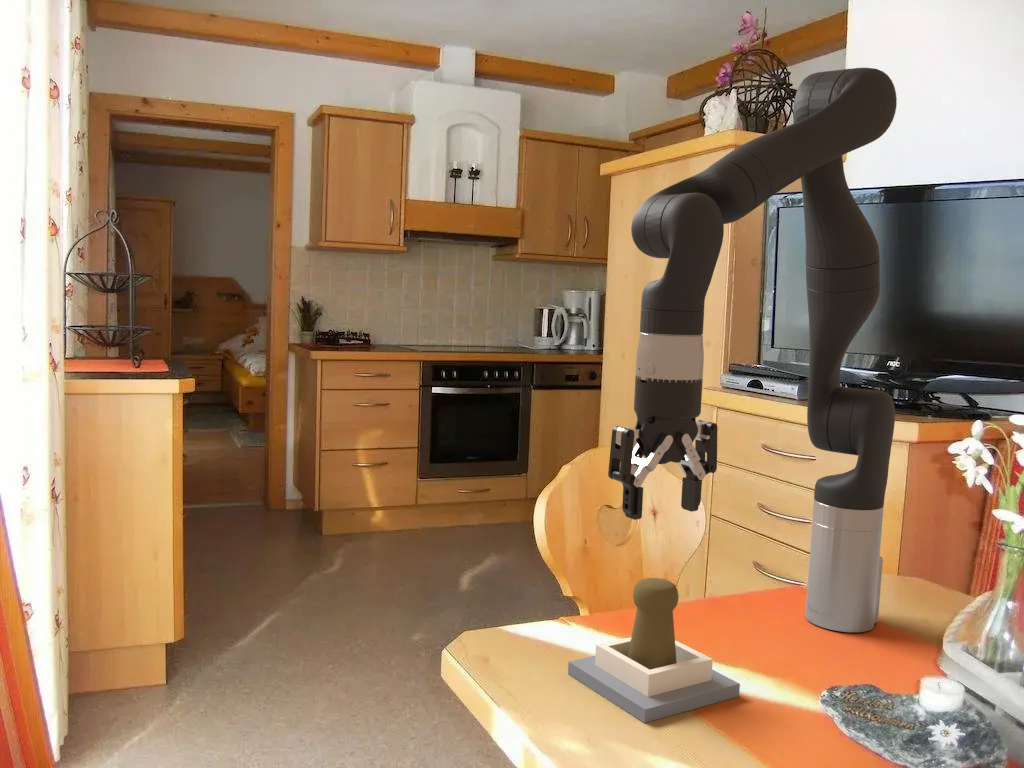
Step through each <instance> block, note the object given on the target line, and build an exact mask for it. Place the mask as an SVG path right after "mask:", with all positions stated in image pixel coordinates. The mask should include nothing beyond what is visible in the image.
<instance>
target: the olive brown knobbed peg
mask: <svg viewBox="0 0 1024 768" xmlns="http://www.w3.org/2000/svg"><path fill="white" fill-rule="evenodd" d="M633 587H634V588H633V590H632V598H633V603H634V605H635V607H636V611H635V618H634V622H633V627H632V628H633V629H632V631H631V642H630V647H629V652H628V658H630V659H632V660H633V661H635V662H637V663H639V664H641V665H642V666H644V667H646V668H648V669H649V670H651V669H655V668H659V667H663V666H667V665H672V664H676V663H677V661H676V648H675V640H676V638H675V636H676V635H675V625H674V624H675V622H674V610H675V609H676V607H677V605H678V603H679V597H680V596H679V590H678V588H677V586H676V584H675V583H673V582H672V581H670V580H667V579H665V578H660V577H644V578H642V579H639V580H638V581H637V582H636V584H635V585H634V586H633Z"/></svg>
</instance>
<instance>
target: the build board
mask: <svg viewBox="0 0 1024 768" xmlns="http://www.w3.org/2000/svg"><path fill="white" fill-rule="evenodd" d="M631 637H632V636H631ZM631 637H626V638H621V639H616V640H611V641H606V642H601V643H598V644H595V655H593V656H592V655H591V656H588V657H584V658H579V659H574V660H570V661H568V662H567V675H569V676H571V677H572V678H573V679H576V680H577V681H579V682H580V683H581V684H582V685H584V686H586V687H587V688H590V690H592V691H594V692H596V693H597V694H598V695H600V696H601V697H603V698H605V699H606V700H608V701H609V702H611V703H612V704H614V705H615V706H617V707H618V708H620V709H621V710H623V711H625V712H627V713H628V714H629V715H631V716H633V717H634V718H636V719H637V720H639V721H641V723H644V724H645V723H646V724H647V723H650V722H653V721H657V720H660V719H664V718H667V717H671V716H674V715H678V714H682V713H685V712H688V711H692V710H695V709H699V708H703V707H706V706H710V705H714V704H716V703H721V702H725V701H728V700H731V699H735V698H738V697H740V688H741V683H739V682H737V681H736V680H734V679H732V678H729V677H727V676H726V675H724V674H722V673H720V672H718V671H716V670H714V669H713V662H714V660H713V658H711V657H709V656H707V655H705V654H704V653H702V652H700V651H697V650H696V649H694V648H692V647H690V646H688V645H686V644H684V643H682V642H679V641H678V640H676V639H675V648H676V661H677V663H676V664H672V665H667V666H663V667H659V668H655V669H651V670H649V669H648V668H646V667H644V666H642V665H641V664H639V663H637V662H635V661H633V660H632V659H630V658H628V652H629V647H630V642H631Z"/></svg>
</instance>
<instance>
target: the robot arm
mask: <svg viewBox="0 0 1024 768" xmlns="http://www.w3.org/2000/svg"><path fill="white" fill-rule="evenodd" d="M897 99H898V98H897V92H896V88H895V84H894V82H893V80H892V79H891V77H890V76H889V75H888V74H887V73H886V72H885V71H883V70H880V69H878V68H872V67H856V68H855V67H854V68H845V69H834V70H826V71H820V72H819V71H818V72H814V73H811V74H809V75H807V76H806V77H804V79H802V81H801V83H800V84H799V85H798V87H797V90H796V93H795V97H794V101H793V112H792V113H793V115H792V117H793V118H792V119H793V123H792V124H789V125H786V126H785V127H782V128H778V129H776V130H773V131H771V132H767V133H766V134H763V135H761V136H758V137H756V138H753V139H752V140H749V141H747V142H745V143H743V144H741V145H740V146H738V147H736V148H735V149H733V150H732V151H729V153H727V154H725V155H724V156H723V157H721V158H719V160H717V161H715V162H714V163H712V164H711V165H709V167H707V168H706V169H704V170H703V171H701V172H698V173H696V174H695V175H692V176H690V177H687V178H685V179H683V180H681V181H678V182H676V183H674V184H672V185H670V186H667V187H665V188H664V189H660V190H659V191H658V192H655V193H654V194H653V195H651V196H649V197H648V198H646V199H645V200H644V202H642V203H641V204H640V205H639V207H638V208H637V210H636V211H635V213H634V216H633V217H632V221H631V227H630V228H631V229H630V230H631V231H630V232H631V238H632V241H633V243H634V245H635V246H636V248H637V249H638V250H639V251H640V252H641V253H642V254H644V255H646V256H648V257H651V258H655V259H667V264H666V267H665V270H664V273H663V275H662V277H660V278H659V279H656V280H653V281H650V282H648V283H647V284H645V286H644V288H643V290H642V294H641V295H642V296H641V305H640V322H639V324H640V325H639V338H638V344H637V348H636V355H635V356H636V357H635V358H636V359H635V376H634V377H635V380H634V398H633V399H634V400H633V401H634V402H633V411H634V412H635V415H636V418H637V419H636V422H635V423H636V424H635V426H634V427H624V426H618V425H615V426H614V427H613V428H612V431H611V438H610V439H611V441H610V451H609V453H610V454H609V463H608V473H607V475H608V478H609V479H611V480H614V481H616V482H620V483H621V484H622V504H621V505H622V512H623V513H624V515H625V517H626V518H629V519H631V520H636V521H637V520H641V519H642V517H643V503H644V502H643V501H644V487H643V486H642V485H643V483H644V482H645V480H646V479H647V477H648V475H649V473H652V472H653V471H654V470H655V469H656V467H658V465H665V464H668V463H670V462H671V463H676V464H678V466H679V468H680V469H681V471H682V473H683V475H684V476H683V477H682V480H681V483H682V485H681V500H680V501H681V502H680V504H681V505H680V506H681V509H683V510H686V511H689V512H697V511H698V510H699V506H700V505H701V500H702V487H703V486H702V485H703V482H702V481H703V480H704V479H705V478H706V476H707V475H708V474H710V473H711V474H714V473H716V471H717V470H718V424H717V423H716V422H711V421H707V420H702V419H698V420H696V418H698V417H700V415H701V413H702V397H703V383H704V382H703V380H704V377H703V376H704V362H705V352H704V351H705V348H704V335H703V334H704V323H705V322H704V321H705V302H706V301H705V300H706V296H707V293H708V290H709V287H710V285H711V282H712V279H713V276H714V272H715V270H716V269H715V268H716V265H717V262H718V259H719V256H720V253H721V249H722V245H723V241H724V234H725V233H724V230H725V229H724V227H725V225H726V224H727V225H728V224H731V223H732V224H733V223H735V222H736V221H739V220H741V219H742V218H744V217H745V216H747V215H749V214H750V213H752V212H753V211H754V210H756V209H757V208H758V207H760V206H761V205H762V204H764V203H765V202H766V201H768V200H769V199H771V198H772V197H773V196H774V195H776V194H778V193H779V192H780V191H782V190H783V189H785V188H786V187H788V186H789V185H791V184H792V183H795V182H796V181H797V180H799V179H800V183H801V189H802V190H801V191H802V202H803V203H802V205H803V216H804V234H805V235H804V236H805V280H806V283H805V284H806V297H807V298H806V299H807V310H808V311H807V312H808V313H807V314H808V331H809V335H808V336H809V359H808V361H809V364H808V365H809V366H808V386H807V388H808V389H807V406H806V407H807V409H806V412H807V413H806V416H807V417H806V420H807V421H806V422H807V433H808V436H809V440H810V442H811V444H812V445H813V446H814V447H815V448H816V449H819V450H821V451H826V452H830V453H838V454H845V455H851V456H857V460H856V464H855V467H854V468H852V469H850V470H849V471H846V472H843V473H837V474H833V475H826V476H823V477H819V479H817V480H816V482H815V484H814V485H815V486H814V491H813V493H814V494H813V495H814V496H813V505H812V506H813V508H812V519H811V535H810V549H809V550H810V551H809V561H808V572H807V575H808V577H807V589H806V598H805V599H806V601H805V613H804V614H805V615H804V617H805V619H806V620H807V621H808V622H810V623H812V624H813V625H815V626H818V627H820V628H822V629H827V630H830V631H837V632H843V633H863V632H864V633H865V632H868V631H871V630H872V629H873V628H875V626H874V625H875V624H876V623H879V614H880V611H879V610H880V603H881V601H880V599H881V590H882V589H881V588H882V587H881V586H882V579H883V578H882V575H883V563H884V559H883V557H882V556H881V547H882V546H881V545H882V544H881V543H882V534H883V533H882V532H883V522H884V521H883V519H884V508H885V507H884V506H885V498H886V497H885V495H886V489H887V484H888V478H889V468H890V467H889V466H890V460H891V453H892V445H893V439H894V431H895V425H896V424H895V423H896V409H895V403H894V400H893V398H892V396H891V395H890V394H889V393H888V392H885V391H882V390H876V389H868V388H867V389H866V388H865V389H863V388H856V387H845V386H841V377H840V376H841V368H842V367H841V366H842V362H843V359H844V357H845V354H846V353H847V350H848V348H849V347H850V344H851V343H852V341H853V340H854V338H855V337H856V336H857V334H858V332H859V331H860V330H861V328H862V327H863V326H864V324H865V323H866V322H867V320H868V318H869V317H870V315H871V313H872V312H873V310H874V309H875V308H876V307H875V306H876V305H877V302H878V300H879V297H880V293H881V277H880V276H881V275H880V274H881V271H880V268H881V265H880V264H881V263H880V247H879V244H878V240H877V238H876V235H875V233H874V231H873V229H872V227H871V225H870V223H869V222H868V220H867V218H866V216H865V214H864V213H863V212H862V210H861V208H860V206H859V205H858V203H857V202H856V200H855V198H854V197H853V194H852V193H851V190H850V188H849V186H848V185H849V184H848V182H847V180H846V175H845V169H844V161H843V160H844V159H843V156H844V155H846V154H848V153H850V152H852V151H855V150H858V149H860V148H862V147H865V146H866V145H867V146H868V145H869V144H871V143H873V142H874V141H876V140H878V139H879V138H881V137H882V136H883V135H884V134H885V133H886V132H887V131H888V129H890V126H891V124H892V123H893V122H894V118H895V116H896V112H897ZM694 441H695V443H694ZM693 443H694V444H695V445H694V444H693ZM643 457H644V458H643Z"/></svg>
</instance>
